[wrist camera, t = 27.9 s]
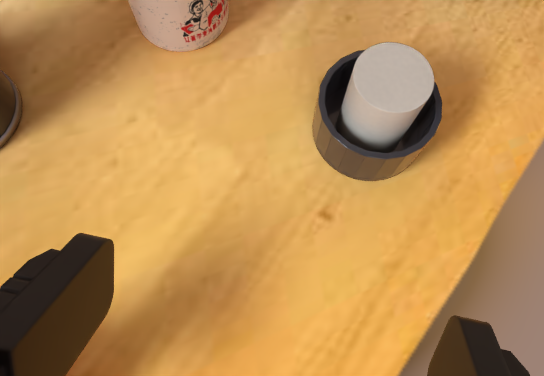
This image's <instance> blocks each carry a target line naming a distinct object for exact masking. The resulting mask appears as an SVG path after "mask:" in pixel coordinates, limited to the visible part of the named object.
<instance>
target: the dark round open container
mask: <svg viewBox="0 0 544 376" xmlns="http://www.w3.org/2000/svg"><path fill="white" fill-rule="evenodd" d="M364 51H365V50H361V51H356V52H354V53H352V54H350V55H347V56H345V57H343V58H341V59H340V60H339V61H338V62H336V63H335V64H334V65H333V66H332V67H331V68H330V69H329V70H328V71H327V73H326V75H325V77H324V79H323V81H322V83H321V85H320V89H319V93H318V98H317V103H316V107H315V112H314V119H313V137H314V141H315V144H316V147H317V149H318V151H319V153H320V154H321V155H322V157H323V158H324V160H325V161H326V162H327V163H328V164H329V165H330V166H332V167H333V168H334V169H335V170H337V171H338V172H340V173H342V174H344V175H346V176H348V177H351V178H354V179H358V180H364V181H378V180H384V179H387V178H391V177H393V176H395V175H397V174H399V173H400V172H402V171H403V170H405V169H406V168H407V167H408V166H409V165H410V164H411V163H412V162H413V161H414V159H415V158H416V157H417V156H418V155H419V154H420V152H421V151H422V150H423V149H424V147H425V146H426V145H427V144H428V143H429V141H430V140H431V139H432V138H433V136H434V135H435V133H436V131H437V129H438V126H439V124H440V121H441V118H442V100H441V96H440V93H439V90H438V87H437V85H436V83H435V82H434V88H433V91H432V93H431V95H430V97H429V99H428V100H427V102H426V103H425V105H424V106H423V108H422V109H421V111H420V112H419V114H418V115H417V117H416V118H415V120H414V121H413V123H412V124H411V126H410V127H409V129H408V130H407V132H406V133H405V135H404V136H403V138H402V139H401V141H400V142H399V144H398V145H397V147H396V148H395V149H394V150H393V151H391V152H390V153H380V152H373V151H367V150H365V149H362V148H360V147H358V146H356V145H353V144H351V143H350V142H348V141H347V140H346V139H345V138H344V137H343V136H342V135H340V134H339V133H338V132H337V129H336V123H337V118H338V115H339V112H340V109H341V106H342V103H343V99H344V96H345V93H346V90H347V87H348V84H349V81H350V78H351V74H352V71H353V68H354V65H355V63H356V61H357V59H358V57H359V56H360V55H361V54H362V53H363V52H364Z"/></svg>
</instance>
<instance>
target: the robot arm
mask: <svg viewBox="0 0 544 376" xmlns="http://www.w3.org/2000/svg"><path fill="white" fill-rule="evenodd" d="M21 113H22V100H21V95H20V92H19V90H18V88H17V86H16V85H15V84H14V82H13V81H12V80H11V79H10V78H9V77H8V76H7V75H6V74H5V73H4V72H3V71H1V70H0V148H1V147H2V146H3V145H4V144H5V143H6V142H7V141H8V140H9V139H10V137H11V136H12V135H13V133H14V132H15V130H16V128H17V126H18V124H19V121H20V118H21ZM113 293H114V244H113V241H112V240H111V239H106V238H102V237H97V236H93V235H88V234H84V233H78V234H77V235H76V236H74V237H73V238H72V239H71V240H70V241H69V242H68V243H67V244H66V245H65V247H64V248H63V249H62V250H61V251H59V250H55V249H50V250H48V251H46V252H44V253H42V254H40V255H38V256H36V257H34V258H32V259H30V260H29V261H28V262H27V263H25V264H24V265H23V266H22V267H21V268H20V269H19V270H18V271H17V272H16V273H15V274H14V276H13V278H9V279H8V280H7V281H6V282H5V283H4V284H3V285H2V286H1V288H0V376H65V375H66V374H67V372H68V371H69V370H70V368H71V367H72V365H73V364H74V362H75V361H76V359H77V358H78V356H79V355H80V353H81V352H82V350H83V349H84V347H85V346H86V344H87V343H88V341H89V340H90V339H91V337H92V336H93V334H94V333H95V331H96V330H97V328H98V327H99V325H100V324H101V322H102V321H103V319H104V318H105V316H106V315H107V313H108V310H109V308H110V305H111V302H112V298H113ZM427 376H530V374H529V372H528V371H527V370H526V369H525V368H524V366H523V365H522V364H521V363H520V362H519V361H518V359H517V358H516V357H515V356H514V355H513V354H512V353H511V351H507V350H502V349H500V346H499V344H498V342H497V339H496V336H495V334H494V332H493V329H492V327H491V325H490V324H489V323H487V322H482V321H478V320H473V319H469V318H463V317H460V316H452V317H451V318H450V320H449V321H448V323H447V325H446V327H445V330H444V332H443V334H442V337H441V339H440V341H439V343H438V346H437V348H436V350H435V352H434V355H433V357H432V359H431V362H430V365H429V368H428V374H427Z"/></svg>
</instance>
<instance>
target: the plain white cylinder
mask: <svg viewBox="0 0 544 376" xmlns="http://www.w3.org/2000/svg"><path fill="white" fill-rule="evenodd" d="M433 88H434V74H433V71H432V68H431V66H430V64H429V62H428V61H427V60H426V58H425V57H424V56H423V55H422V54H421V53H419V52H418V51H417V50H415V49H413V48H412V47H410V46H407V45H404V44H401V43H394V42H386V43H380V44H376V45H374V46H371V47H370V48H368V49H366V50H365V51H364V52H363V53H362V54H361V55H360V56H359V57H358V59H357V61H356V63H355V65H354V68H353V71H352V74H351V78H350V81H349V84H348V87H347V90H346V93H345V96H344V99H343V103H342V106H341V109H340V112H339V115H338V118H337V123H336V129H337V132H338V133H339V134H340V135H342V136H343V137H344V138H345V139H346V140H347V141H348V142H350V143H351V144H353V145H356V146H358V147H360V148H362V149H365V150H367V151H373V152H380V153H390V152H391V151H393V150H394V149H395V148H396V147H397V145H398V144H399V142H400V141H401V139H402V138H403V136H404V135H405V133H406V132H407V130H408V129H409V127H410V126H411V124H412V123H413V121H414V120H415V118H416V117H417V115H418V114H419V112H420V111H421V109H422V108H423V106H424V105H425V103H426V102H427V100H428V99H429V97H430V95H431V93H432V91H433Z"/></svg>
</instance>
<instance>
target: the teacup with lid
mask: <svg viewBox="0 0 544 376" xmlns="http://www.w3.org/2000/svg"><path fill="white" fill-rule="evenodd" d="M128 2H129V4H130V7H131V10H132V12H133V15H134V17H135V20H136V22H137V25H138V27H139V29H140V31H141V32H142V34H143V35H144V36H145V38H147V39H148V40H149V41H150V42H151V43H153V44H154V45H156V46H158V47H160V48H162V49H165V50H169V51H176V52H185V51H192V50H196V49H199V48H202V47H204V46H206V45H208V44H209V43H211V42H212V41H214V40H215V39H216V38H217V37H218V36H219V35H220V34H221V32H222V31H223V29H224V27H225V25H226V23H227V20H228V14H229V7H228V0H128Z"/></svg>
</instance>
